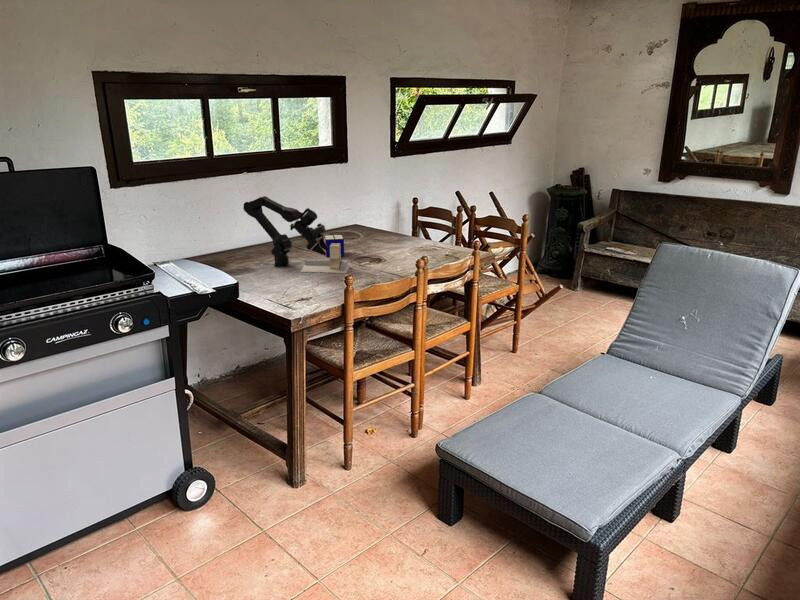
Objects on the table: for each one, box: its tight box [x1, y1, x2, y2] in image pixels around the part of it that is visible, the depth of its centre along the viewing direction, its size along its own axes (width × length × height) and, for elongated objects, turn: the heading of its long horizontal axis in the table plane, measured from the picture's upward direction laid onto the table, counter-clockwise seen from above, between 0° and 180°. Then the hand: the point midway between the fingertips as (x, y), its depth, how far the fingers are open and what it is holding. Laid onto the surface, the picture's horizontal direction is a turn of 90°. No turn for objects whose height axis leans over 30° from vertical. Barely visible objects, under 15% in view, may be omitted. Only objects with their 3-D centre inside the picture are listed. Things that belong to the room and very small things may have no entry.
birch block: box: [329, 243, 342, 269], centre depth 305 cm, size 6×4×12 cm
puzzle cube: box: [323, 234, 345, 258], centre depth 333 cm, size 10×10×10 cm
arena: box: [299, 258, 351, 274], centre depth 306 cm, size 23×14×3 cm, turn 87°
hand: (327, 252), depth 305 cm, fingers open, 9 cm apart
